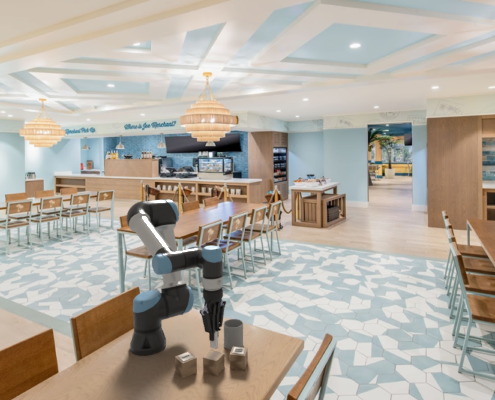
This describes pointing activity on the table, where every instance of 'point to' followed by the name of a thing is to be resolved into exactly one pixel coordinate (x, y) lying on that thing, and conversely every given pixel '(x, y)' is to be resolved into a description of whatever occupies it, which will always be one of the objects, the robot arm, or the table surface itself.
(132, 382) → the table surface
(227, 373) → the table surface
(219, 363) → the plain block
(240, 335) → the cup
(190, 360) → the numbered block
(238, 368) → the numbered block
